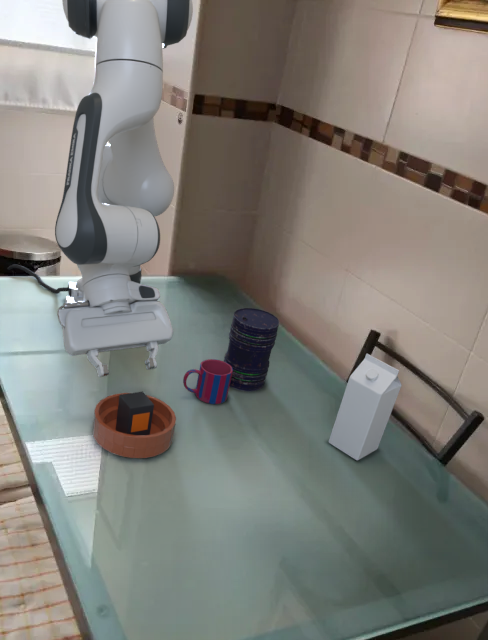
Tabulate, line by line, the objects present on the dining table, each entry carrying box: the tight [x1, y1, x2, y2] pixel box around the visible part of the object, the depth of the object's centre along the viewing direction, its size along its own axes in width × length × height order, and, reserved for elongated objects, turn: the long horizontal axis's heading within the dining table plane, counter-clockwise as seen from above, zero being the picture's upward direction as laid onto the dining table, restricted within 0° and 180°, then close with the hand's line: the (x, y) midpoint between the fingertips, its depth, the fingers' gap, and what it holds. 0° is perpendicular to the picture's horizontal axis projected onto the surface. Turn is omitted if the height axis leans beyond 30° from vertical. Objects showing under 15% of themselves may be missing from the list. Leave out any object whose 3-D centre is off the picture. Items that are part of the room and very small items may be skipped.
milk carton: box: [328, 353, 402, 461], centre depth 124 cm, size 7×7×19 cm
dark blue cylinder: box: [223, 307, 280, 392], centre depth 140 cm, size 10×10×15 cm
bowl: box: [92, 392, 177, 459], centre depth 118 cm, size 14×14×5 cm
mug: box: [182, 358, 233, 405], centre depth 133 cm, size 7×10×7 cm
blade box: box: [116, 390, 154, 435], centre depth 116 cm, size 5×5×8 cm
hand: (128, 372), depth 117 cm, fingers open, 8 cm apart
